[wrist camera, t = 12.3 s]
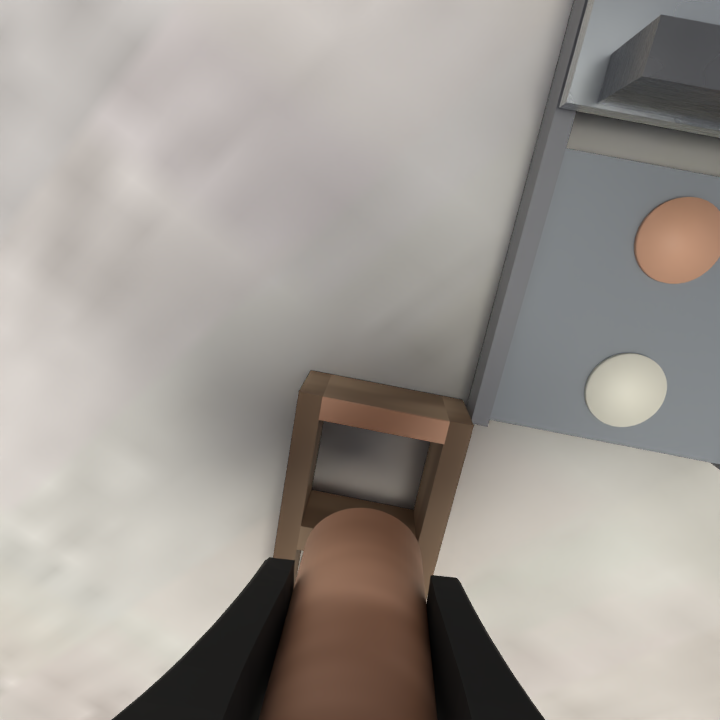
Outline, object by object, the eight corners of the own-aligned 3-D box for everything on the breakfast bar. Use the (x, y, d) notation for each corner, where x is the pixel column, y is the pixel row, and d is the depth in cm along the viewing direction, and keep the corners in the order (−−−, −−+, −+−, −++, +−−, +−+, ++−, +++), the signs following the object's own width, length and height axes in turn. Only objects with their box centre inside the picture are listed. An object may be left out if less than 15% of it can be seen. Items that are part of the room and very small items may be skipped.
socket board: (462, 400, 17) (474, 427, 15) (402, 630, 21) (404, 683, 18) (310, 370, 18) (298, 392, 15) (273, 604, 21) (257, 654, 18)
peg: (446, 553, 12) (494, 832, 7) (373, 626, 13) (360, 932, 7) (350, 485, 12) (314, 719, 6) (281, 565, 13) (192, 837, 7)
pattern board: (1081, -361, 11) (1159, -429, 10) (717, 459, 17) (740, 476, 16) (688, -430, 11) (721, -504, 10) (465, 410, 18) (470, 423, 16)
